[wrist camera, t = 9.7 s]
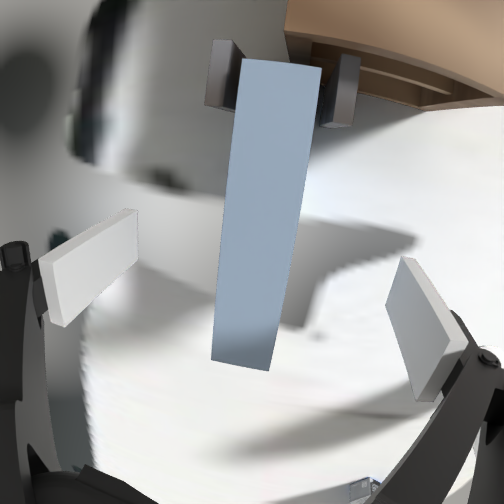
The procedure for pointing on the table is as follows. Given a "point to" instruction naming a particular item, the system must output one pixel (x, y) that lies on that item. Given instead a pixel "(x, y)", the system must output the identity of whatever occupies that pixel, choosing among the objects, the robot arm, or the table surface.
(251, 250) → the door
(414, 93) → the cabinet
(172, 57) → the table surface
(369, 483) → the label tape box
